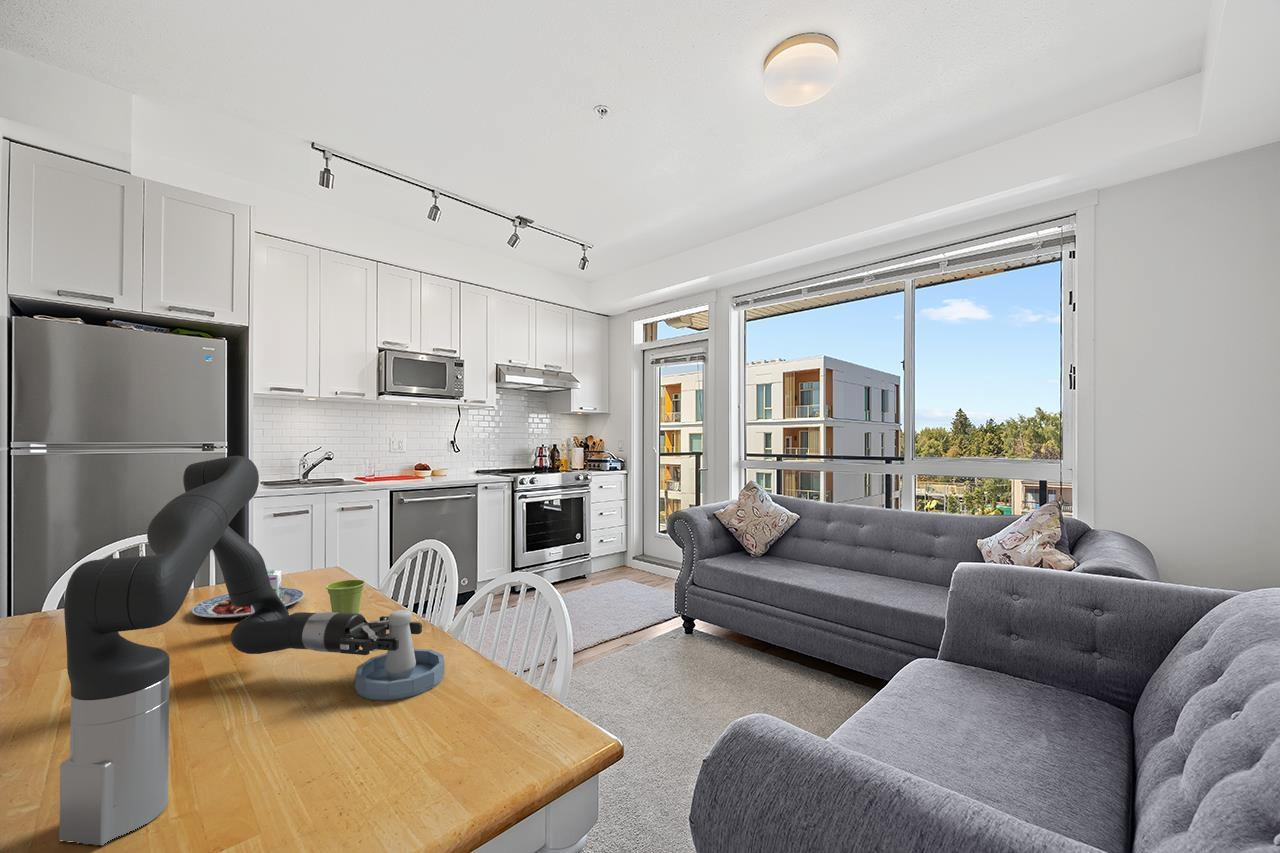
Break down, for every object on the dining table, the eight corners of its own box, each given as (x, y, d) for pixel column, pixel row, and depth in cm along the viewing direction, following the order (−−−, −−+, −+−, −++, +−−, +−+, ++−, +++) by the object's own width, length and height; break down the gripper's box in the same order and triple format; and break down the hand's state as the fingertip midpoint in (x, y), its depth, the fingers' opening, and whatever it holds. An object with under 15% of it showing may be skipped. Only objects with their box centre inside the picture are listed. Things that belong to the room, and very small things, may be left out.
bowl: (417, 703, 100) (417, 685, 100) (336, 697, 102) (337, 680, 102) (457, 666, 116) (457, 651, 116) (386, 662, 118) (387, 647, 118)
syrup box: (279, 633, 135) (279, 574, 135) (249, 637, 132) (250, 576, 132) (281, 626, 140) (282, 568, 140) (253, 629, 137) (254, 571, 137)
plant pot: (317, 620, 144) (317, 587, 144) (345, 609, 153) (346, 578, 153) (345, 623, 142) (345, 590, 142) (373, 612, 151) (373, 580, 151)
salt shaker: (403, 685, 106) (404, 617, 106) (377, 682, 107) (377, 615, 107) (421, 672, 112) (422, 607, 112) (396, 669, 113) (396, 606, 113)
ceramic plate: (195, 632, 136) (195, 620, 136) (188, 607, 155) (188, 596, 155) (313, 609, 154) (313, 599, 154) (294, 590, 173) (294, 580, 173)
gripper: (309, 625, 104) (389, 629, 102) (357, 602, 118) (428, 605, 116) (309, 665, 104) (389, 670, 102) (357, 637, 118) (428, 641, 116)
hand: (410, 636), depth 109 cm, fingers open, 8 cm apart
